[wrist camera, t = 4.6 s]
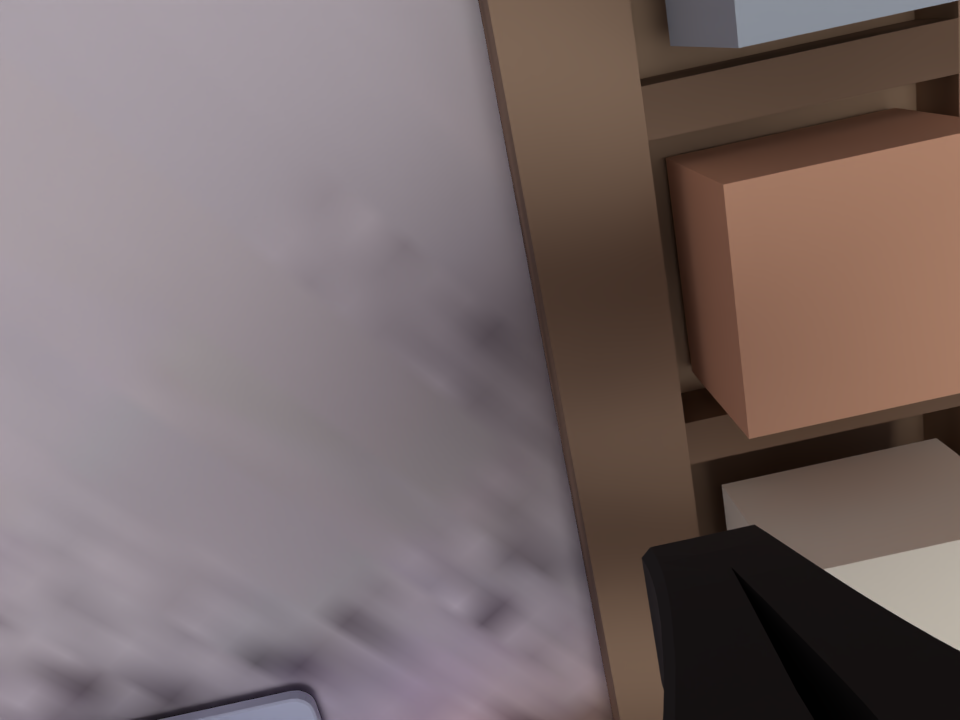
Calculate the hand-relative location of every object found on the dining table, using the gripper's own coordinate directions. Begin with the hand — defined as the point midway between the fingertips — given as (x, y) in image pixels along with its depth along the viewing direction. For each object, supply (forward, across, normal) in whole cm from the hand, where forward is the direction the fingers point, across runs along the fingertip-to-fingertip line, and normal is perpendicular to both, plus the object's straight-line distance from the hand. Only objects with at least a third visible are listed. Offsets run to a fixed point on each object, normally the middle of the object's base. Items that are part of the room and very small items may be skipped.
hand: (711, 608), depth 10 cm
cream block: (+8, -5, +6) cm, 11 cm away
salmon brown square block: (+10, -5, -1) cm, 11 cm away
